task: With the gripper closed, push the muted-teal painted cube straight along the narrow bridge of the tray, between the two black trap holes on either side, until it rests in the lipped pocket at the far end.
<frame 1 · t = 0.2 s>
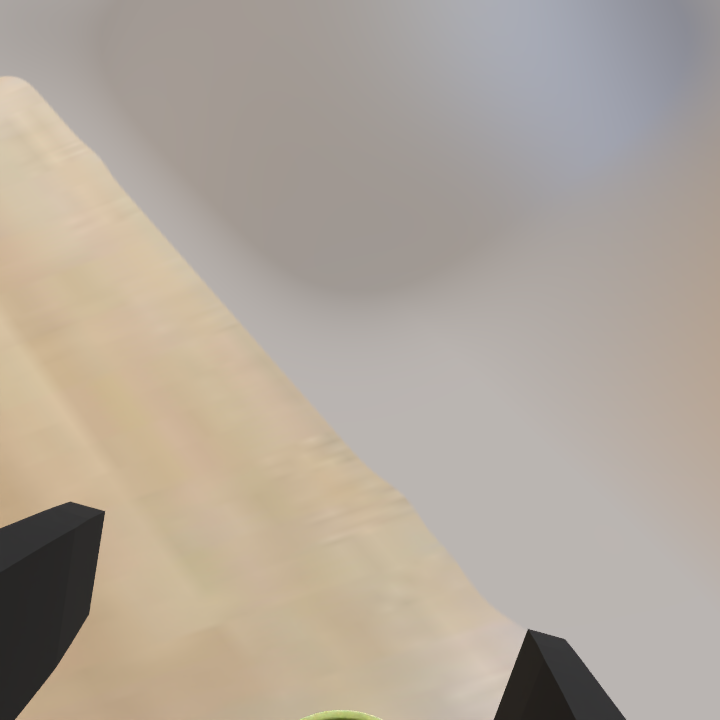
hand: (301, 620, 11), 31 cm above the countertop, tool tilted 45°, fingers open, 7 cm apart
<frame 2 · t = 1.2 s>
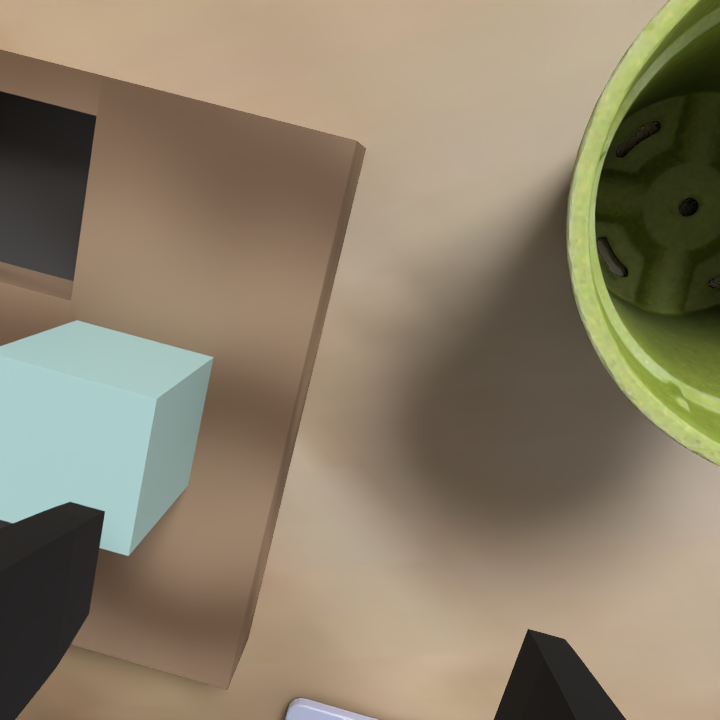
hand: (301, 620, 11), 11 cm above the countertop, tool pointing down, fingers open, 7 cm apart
plant pot: (675, 209, 19), on the countertop
block: (133, 404, 19), point 2 cm above the countertop, touching tray
tray: (64, 353, 22), on the countertop
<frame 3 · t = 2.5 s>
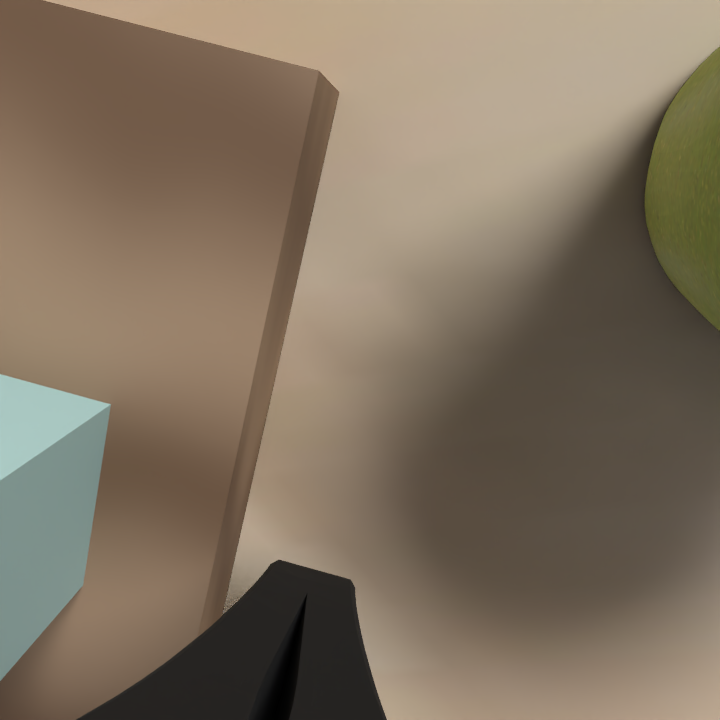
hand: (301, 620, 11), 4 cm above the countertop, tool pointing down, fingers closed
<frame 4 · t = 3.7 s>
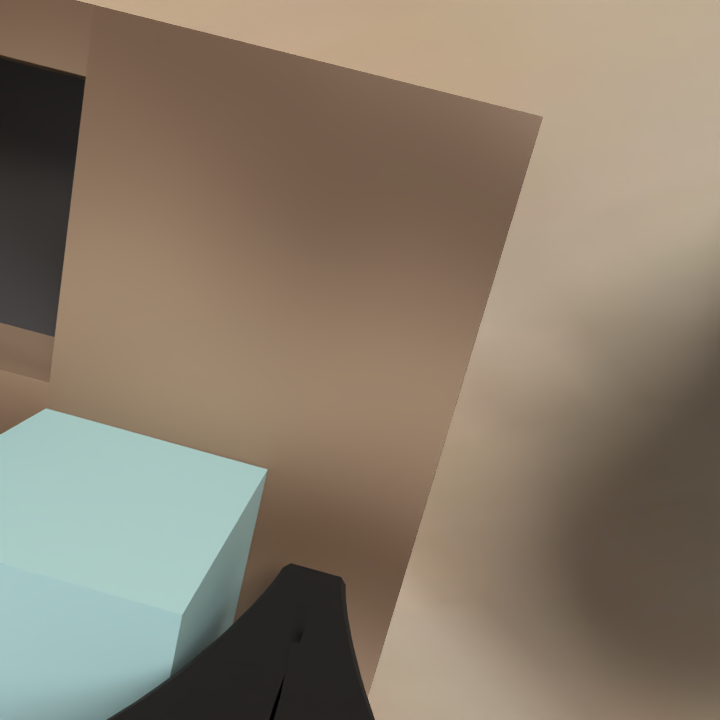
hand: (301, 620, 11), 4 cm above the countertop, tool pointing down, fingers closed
block: (138, 538, 12), point 3 cm above the countertop, touching tray, gripper
tray: (44, 440, 15), on the countertop
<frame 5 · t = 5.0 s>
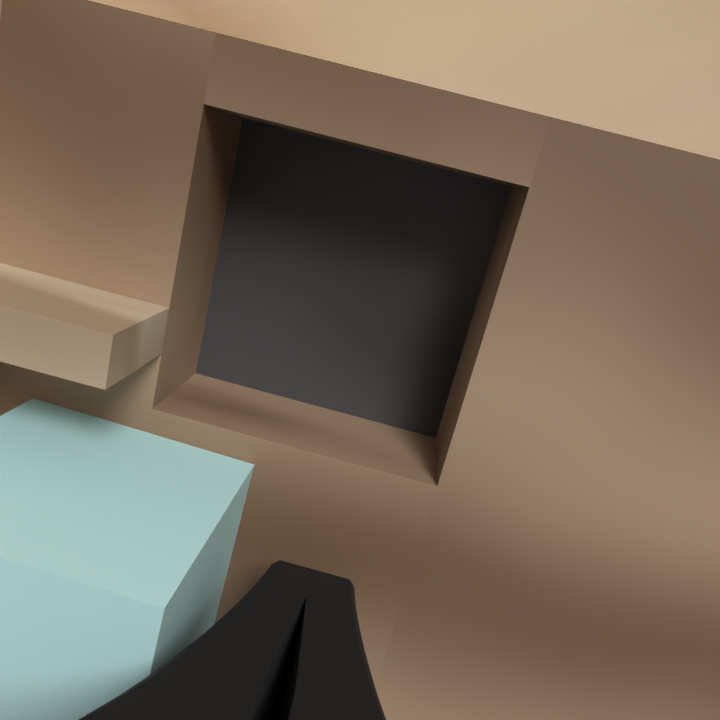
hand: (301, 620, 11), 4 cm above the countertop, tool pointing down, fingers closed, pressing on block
block: (123, 530, 12), point 3 cm above the countertop, touching tray, gripper
tray: (347, 522, 14), on the countertop
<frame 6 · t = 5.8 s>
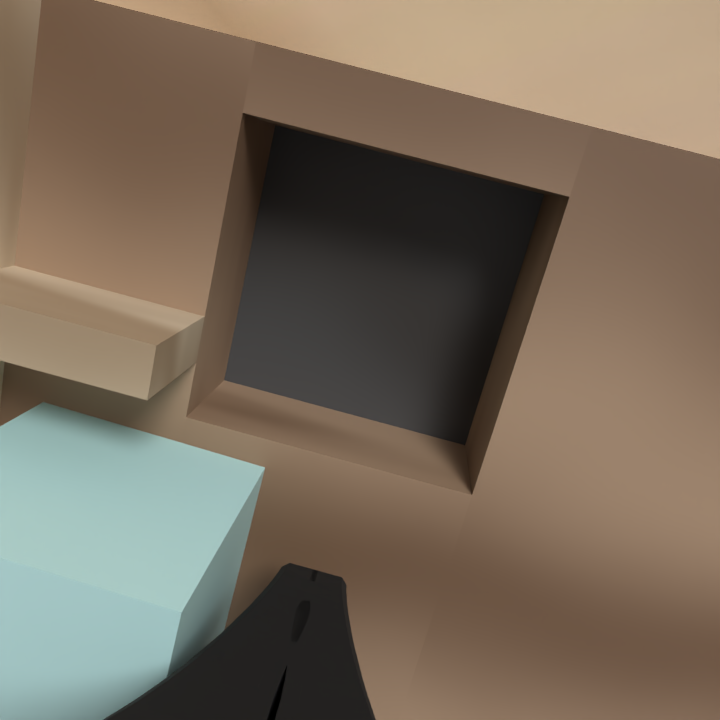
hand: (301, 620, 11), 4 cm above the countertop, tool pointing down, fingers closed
block: (134, 534, 12), point 3 cm above the countertop, touching tray, gripper
tray: (374, 529, 14), on the countertop
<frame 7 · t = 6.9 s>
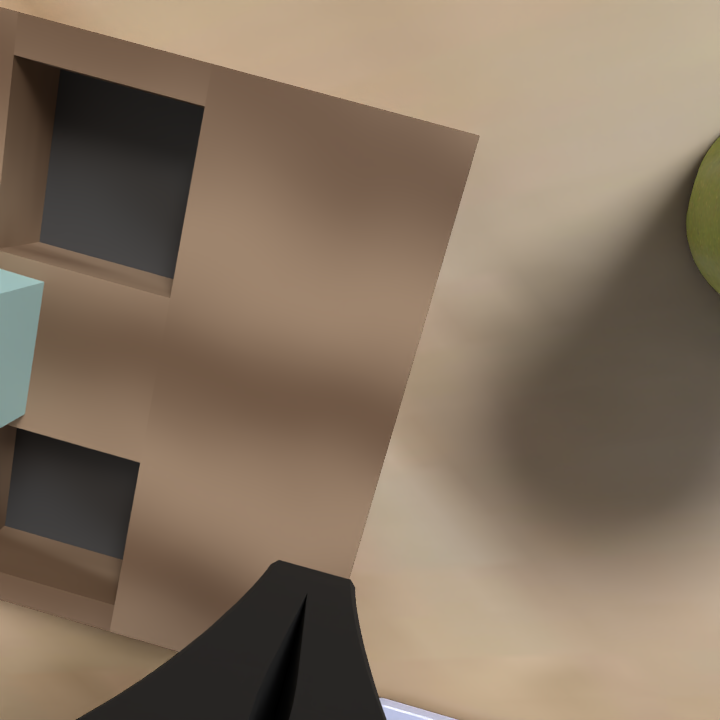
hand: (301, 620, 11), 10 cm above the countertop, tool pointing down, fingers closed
tray: (148, 349, 21), on the countertop
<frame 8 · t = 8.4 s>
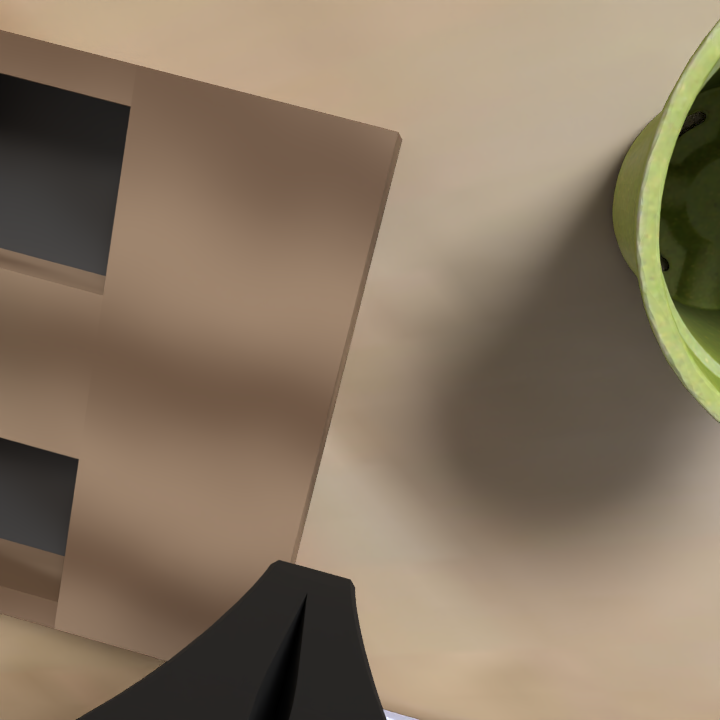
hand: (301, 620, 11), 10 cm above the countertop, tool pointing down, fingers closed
plant pot: (718, 202, 19), on the countertop
tray: (91, 348, 21), on the countertop
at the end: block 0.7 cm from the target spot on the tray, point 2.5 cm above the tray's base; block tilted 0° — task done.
